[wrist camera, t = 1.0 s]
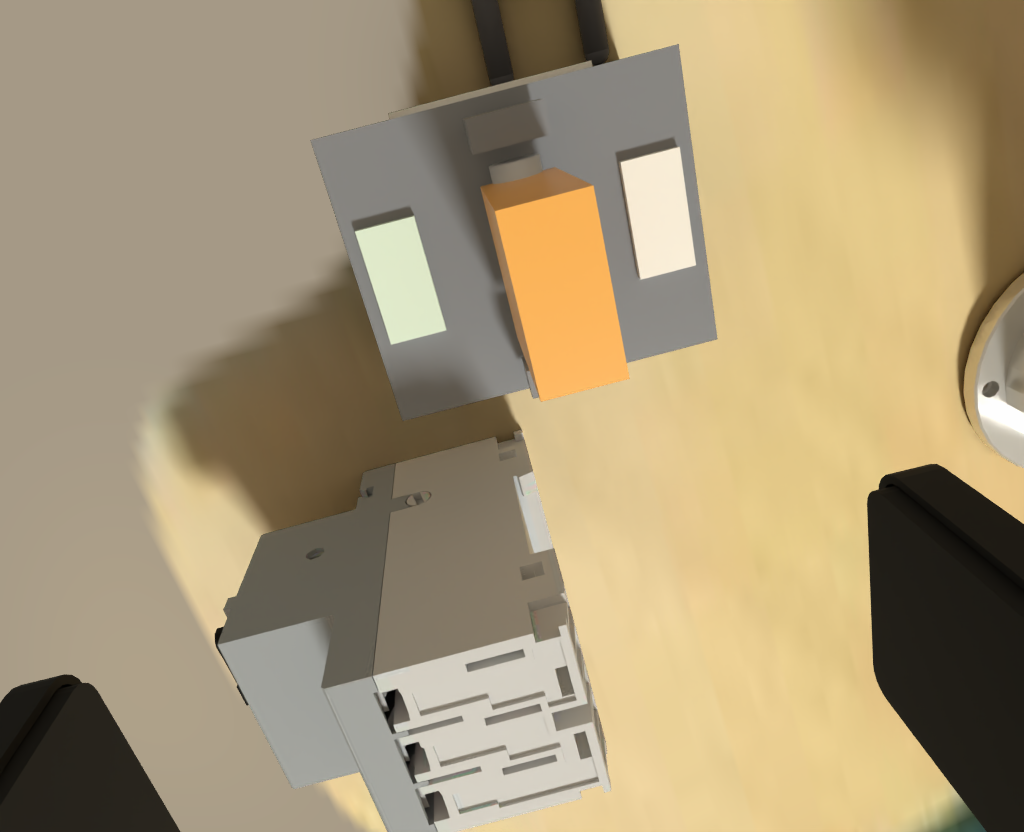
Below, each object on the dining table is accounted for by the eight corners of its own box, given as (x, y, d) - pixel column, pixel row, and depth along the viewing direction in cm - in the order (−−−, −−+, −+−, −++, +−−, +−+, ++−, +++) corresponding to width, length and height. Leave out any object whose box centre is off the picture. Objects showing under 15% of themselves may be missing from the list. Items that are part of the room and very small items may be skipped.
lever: (547, 149, 23) (589, 163, 17) (584, 326, 26) (632, 395, 20) (474, 168, 23) (489, 189, 17) (518, 343, 26) (544, 418, 20)
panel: (618, 54, 30) (702, 29, 21) (657, 290, 35) (741, 358, 25) (338, 128, 31) (295, 136, 21) (409, 354, 35) (399, 447, 25)
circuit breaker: (244, 503, 37) (131, 740, 23) (521, 429, 37) (574, 622, 23) (298, 620, 40) (225, 892, 26) (554, 552, 40) (618, 788, 26)
